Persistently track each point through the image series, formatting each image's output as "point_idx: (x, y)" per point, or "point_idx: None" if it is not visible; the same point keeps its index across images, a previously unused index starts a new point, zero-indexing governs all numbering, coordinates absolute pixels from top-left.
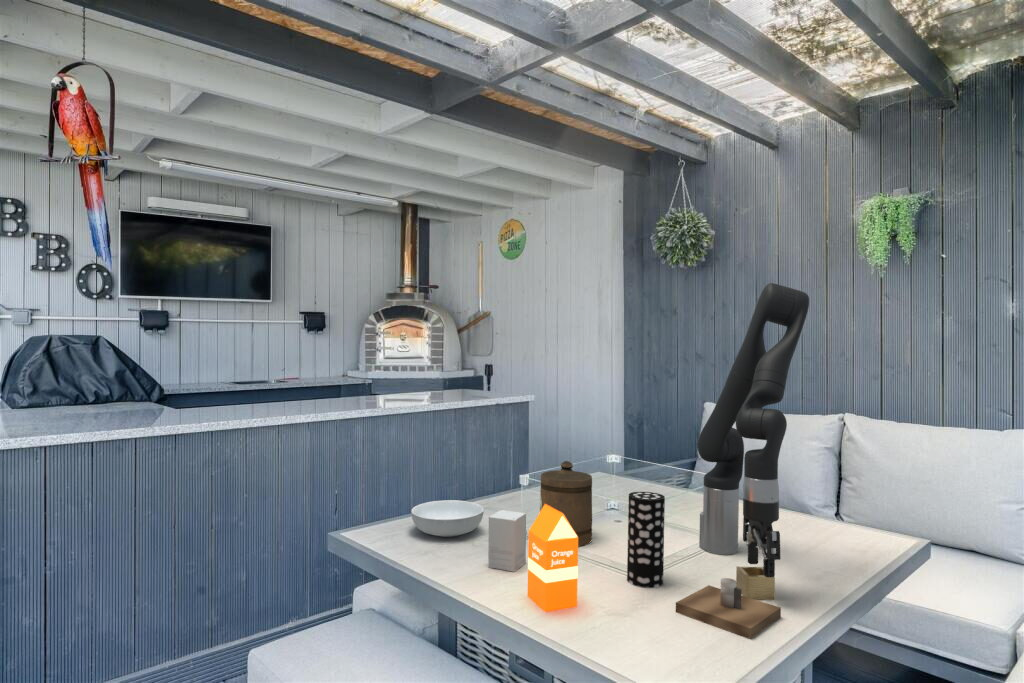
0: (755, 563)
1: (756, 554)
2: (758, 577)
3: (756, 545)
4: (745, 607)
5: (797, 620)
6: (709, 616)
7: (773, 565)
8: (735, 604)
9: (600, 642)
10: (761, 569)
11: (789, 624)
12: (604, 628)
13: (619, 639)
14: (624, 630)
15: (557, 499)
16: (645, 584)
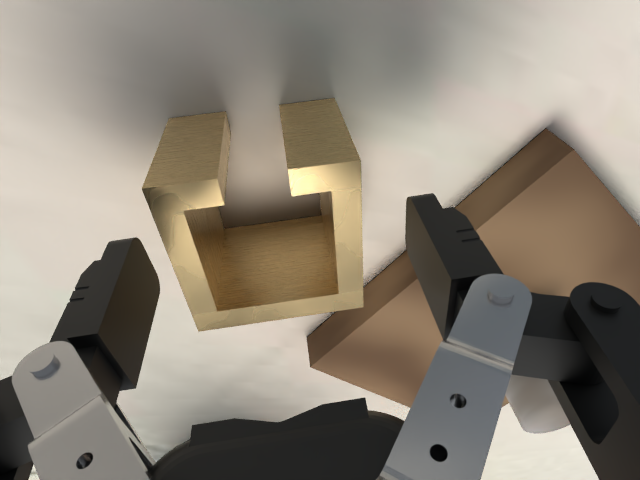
0: (143, 251)
1: (120, 297)
2: (361, 251)
3: (88, 364)
4: (535, 284)
5: (595, 52)
6: None
7: (493, 263)
8: None
9: (567, 474)
10: (190, 206)
11: (620, 108)
12: (515, 477)
13: (565, 459)
14: (530, 458)
15: None
16: None
